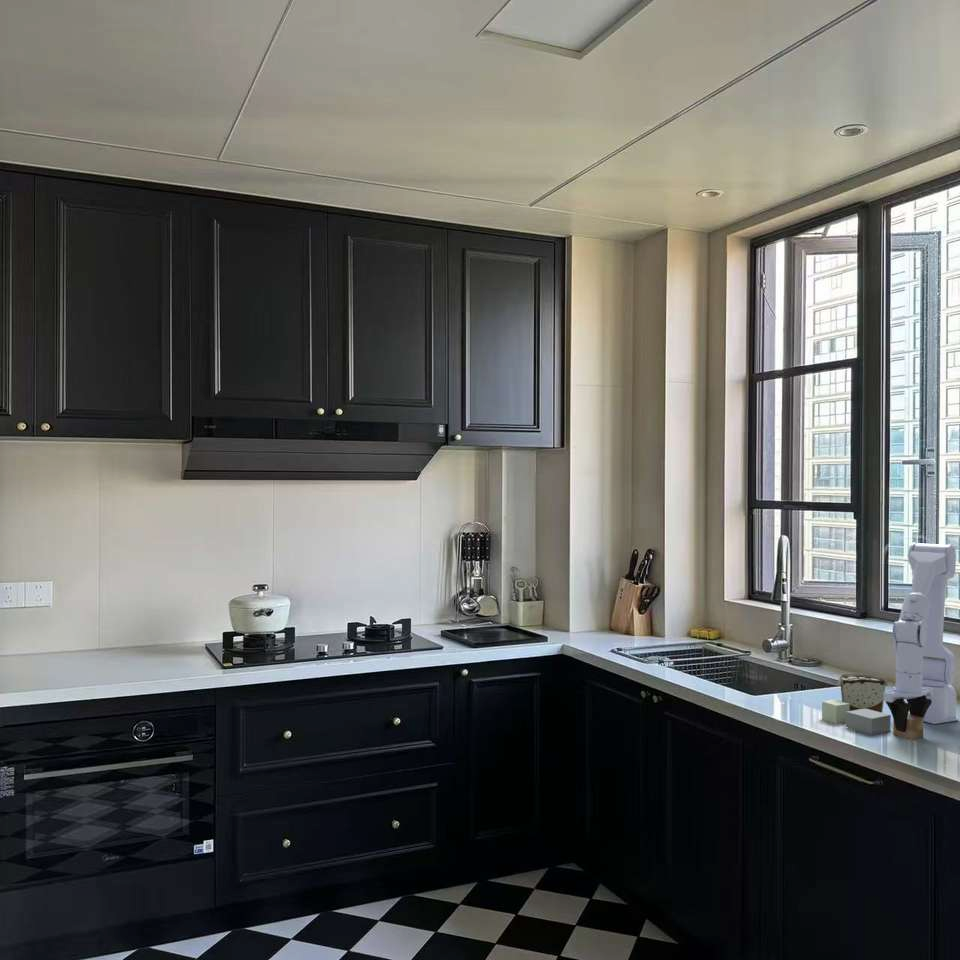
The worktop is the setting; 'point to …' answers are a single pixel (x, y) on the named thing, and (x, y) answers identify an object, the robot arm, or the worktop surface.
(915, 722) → the walnut cube
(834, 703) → the sage cube
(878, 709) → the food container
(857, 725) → the slate block
